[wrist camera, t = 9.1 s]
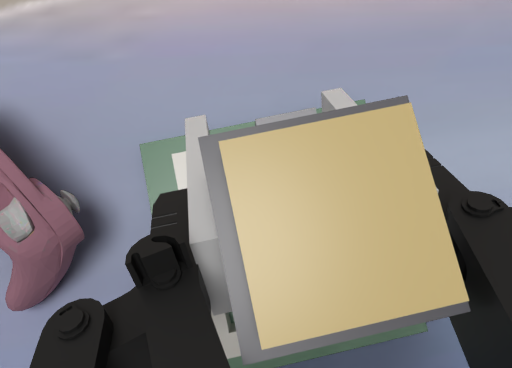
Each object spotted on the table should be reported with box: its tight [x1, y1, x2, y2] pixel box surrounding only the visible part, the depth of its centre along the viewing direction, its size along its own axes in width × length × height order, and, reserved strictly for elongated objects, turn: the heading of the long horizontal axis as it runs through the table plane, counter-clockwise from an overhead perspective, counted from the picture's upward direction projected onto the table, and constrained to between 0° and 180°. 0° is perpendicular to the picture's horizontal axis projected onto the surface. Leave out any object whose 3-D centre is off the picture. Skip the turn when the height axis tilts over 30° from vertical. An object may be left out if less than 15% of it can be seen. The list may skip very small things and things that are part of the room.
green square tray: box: [140, 99, 428, 368], centre depth 18 cm, size 12×12×3 cm
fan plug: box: [198, 95, 471, 366], centre depth 12 cm, size 4×5×11 cm
